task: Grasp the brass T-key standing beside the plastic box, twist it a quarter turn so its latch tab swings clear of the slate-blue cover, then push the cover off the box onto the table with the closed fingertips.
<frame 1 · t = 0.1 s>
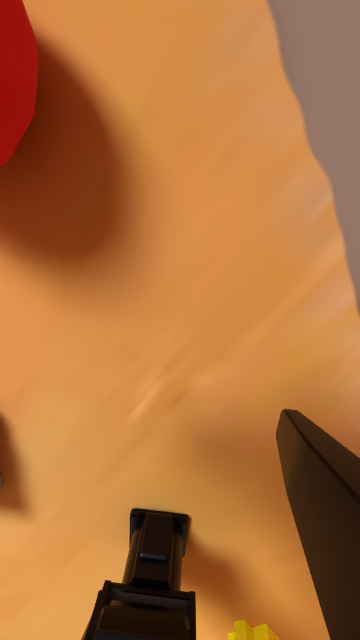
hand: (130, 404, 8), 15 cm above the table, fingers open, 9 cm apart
yellow crystal cluster: (252, 632, 38), on the table
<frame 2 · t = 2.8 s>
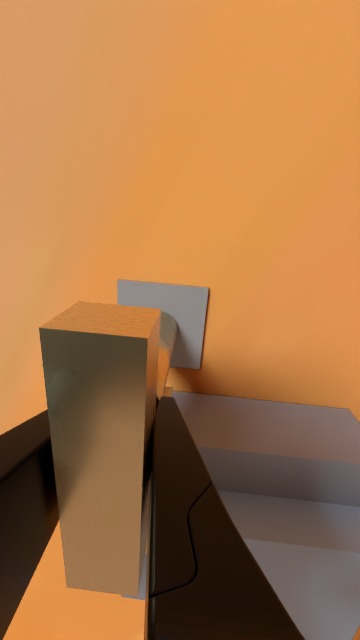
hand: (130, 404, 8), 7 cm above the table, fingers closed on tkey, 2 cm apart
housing: (229, 475, 18), on the table
cover: (253, 557, 14), point 4 cm above the table, touching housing
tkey: (143, 438, 11), point 5 cm above the table, hinge at 0.0°, touching gripper
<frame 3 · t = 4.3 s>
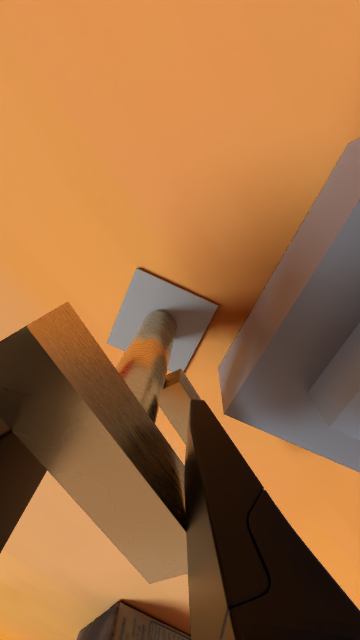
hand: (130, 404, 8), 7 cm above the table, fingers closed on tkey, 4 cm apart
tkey: (184, 427, 11), point 5 cm above the table, hinge at -35.8°, touching gripper
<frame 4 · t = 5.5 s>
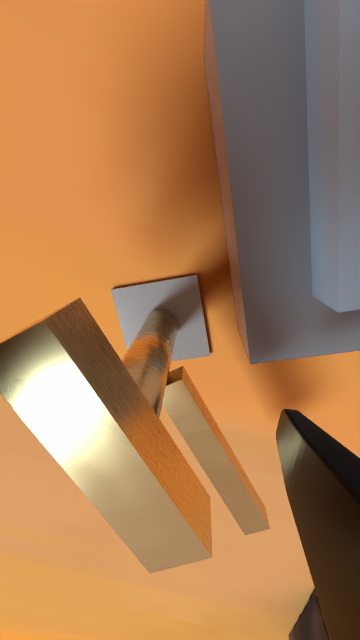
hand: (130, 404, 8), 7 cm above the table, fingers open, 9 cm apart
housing: (356, 186, 12), on the table
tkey: (184, 424, 11), point 5 cm above the table, hinge at -72.5°
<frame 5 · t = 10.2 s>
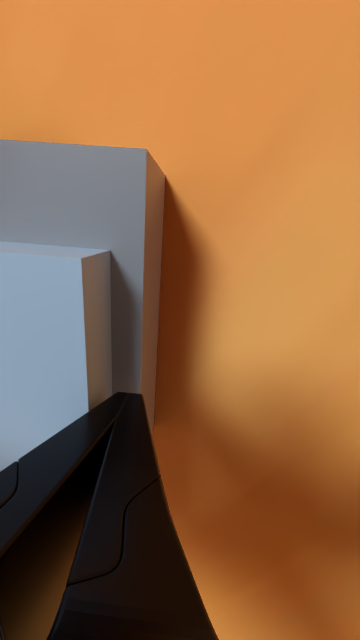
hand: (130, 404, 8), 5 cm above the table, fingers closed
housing: (31, 310, 13), on the table
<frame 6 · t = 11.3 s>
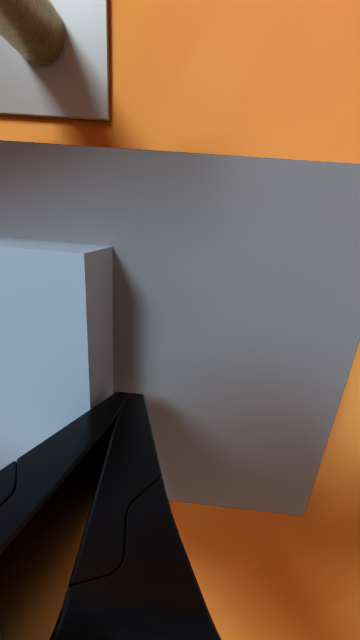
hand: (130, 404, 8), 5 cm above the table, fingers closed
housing: (169, 322, 13), on the table
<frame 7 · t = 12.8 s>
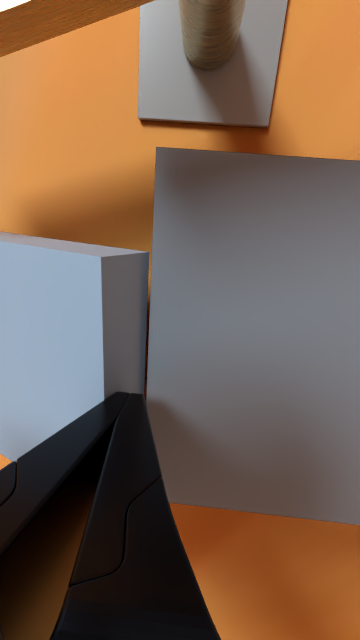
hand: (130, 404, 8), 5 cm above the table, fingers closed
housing: (296, 334, 12), on the table
cover: (53, 350, 11), point 2 cm above the table, tilted 23°, touching gripper
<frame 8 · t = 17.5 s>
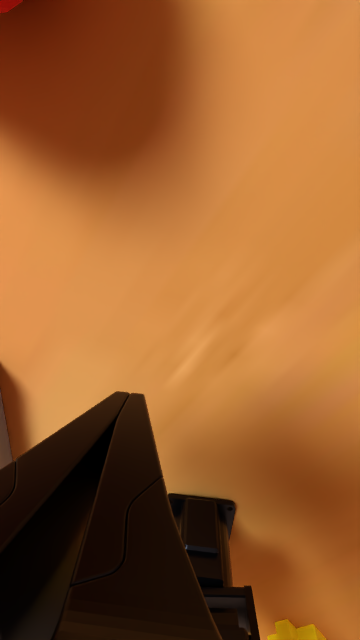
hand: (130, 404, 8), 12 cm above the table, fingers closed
yellow crystal cluster: (296, 634, 33), on the table
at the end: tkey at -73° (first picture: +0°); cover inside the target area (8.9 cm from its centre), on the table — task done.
